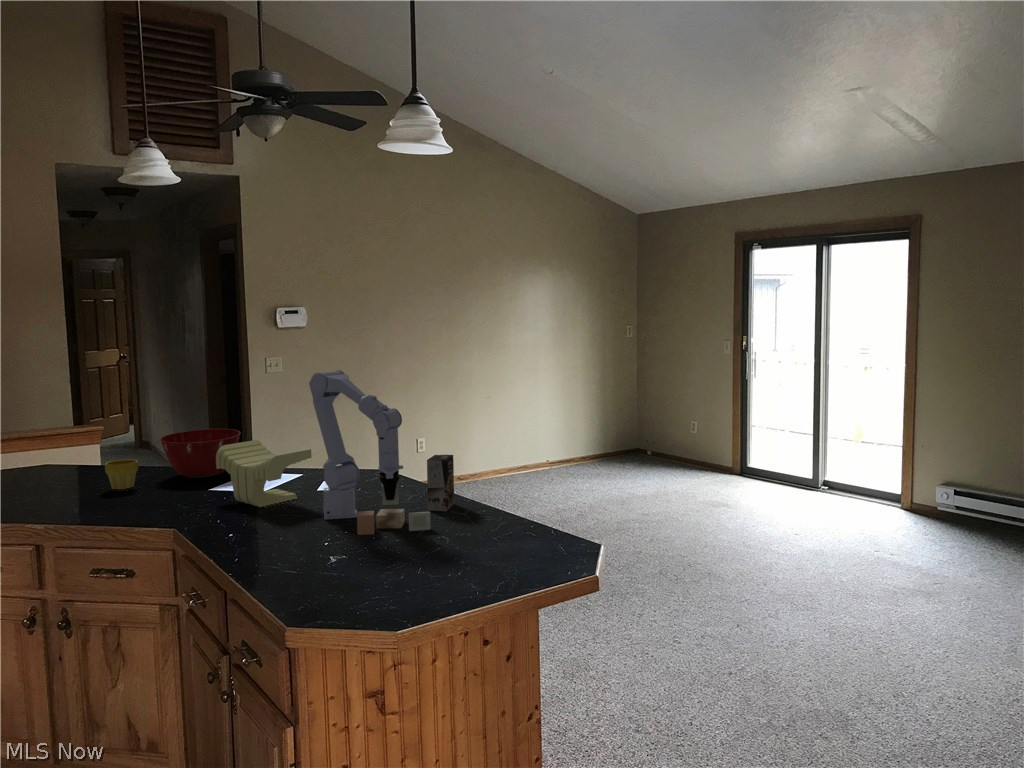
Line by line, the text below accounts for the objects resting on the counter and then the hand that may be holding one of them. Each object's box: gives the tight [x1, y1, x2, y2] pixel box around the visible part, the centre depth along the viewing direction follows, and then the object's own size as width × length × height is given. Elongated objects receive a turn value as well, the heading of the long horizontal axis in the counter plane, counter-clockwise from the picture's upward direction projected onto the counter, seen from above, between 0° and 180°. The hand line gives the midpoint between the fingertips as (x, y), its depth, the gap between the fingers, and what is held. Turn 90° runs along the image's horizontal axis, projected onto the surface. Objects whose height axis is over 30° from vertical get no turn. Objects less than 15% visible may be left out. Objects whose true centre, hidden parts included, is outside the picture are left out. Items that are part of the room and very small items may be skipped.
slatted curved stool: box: [216, 439, 312, 508], centre depth 258 cm, size 30×16×18 cm, turn 50°
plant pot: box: [104, 459, 139, 490], centre depth 278 cm, size 10×10×10 cm
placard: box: [408, 511, 432, 532], centre depth 224 cm, size 6×1×5 cm, turn 100°
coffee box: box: [426, 454, 455, 512], centre depth 248 cm, size 9×6×16 cm
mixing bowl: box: [159, 428, 241, 477], centre depth 299 cm, size 28×28×16 cm
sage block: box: [381, 481, 400, 506], centre depth 229 cm, size 5×5×6 cm
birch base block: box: [375, 508, 406, 529], centre depth 230 cm, size 7×7×4 cm
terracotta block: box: [356, 510, 375, 536], centre depth 223 cm, size 5×5×6 cm
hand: (390, 497), depth 229 cm, fingers closed on sage block, 5 cm apart
